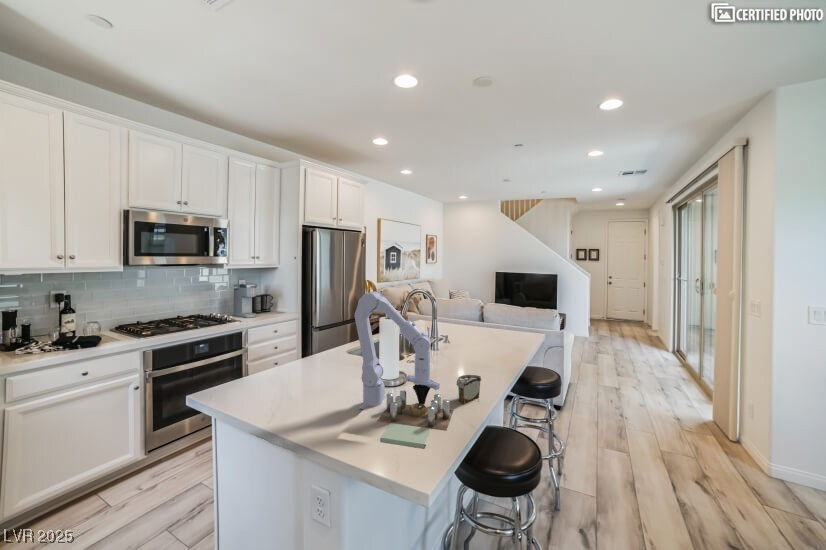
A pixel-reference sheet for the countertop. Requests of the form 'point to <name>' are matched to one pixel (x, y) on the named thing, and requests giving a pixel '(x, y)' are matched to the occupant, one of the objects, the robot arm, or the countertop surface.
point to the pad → (405, 435)
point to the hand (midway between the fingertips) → (421, 403)
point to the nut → (417, 409)
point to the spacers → (433, 410)
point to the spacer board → (417, 419)
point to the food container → (468, 388)
